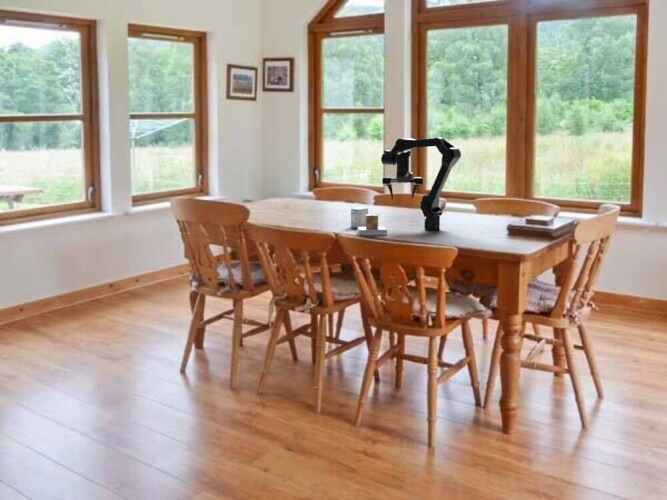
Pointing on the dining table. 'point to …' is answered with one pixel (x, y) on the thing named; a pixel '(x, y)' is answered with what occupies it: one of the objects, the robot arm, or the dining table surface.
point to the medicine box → (358, 217)
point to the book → (372, 231)
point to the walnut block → (372, 221)
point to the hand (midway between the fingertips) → (402, 199)
